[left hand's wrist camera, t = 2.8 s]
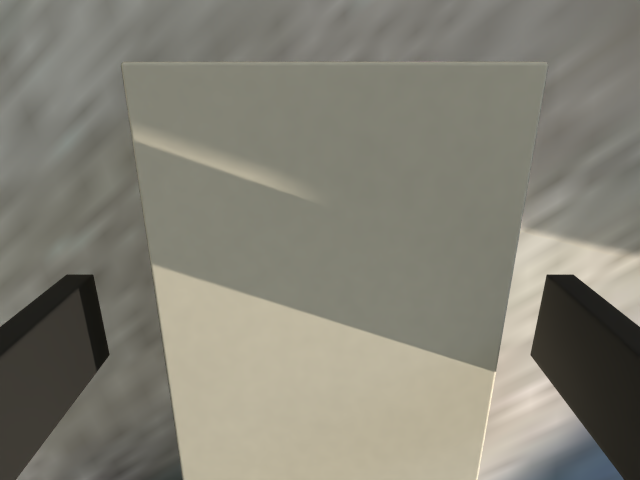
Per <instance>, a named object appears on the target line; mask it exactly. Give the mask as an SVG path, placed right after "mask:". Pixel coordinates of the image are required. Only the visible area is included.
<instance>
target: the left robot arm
mask: <svg viewBox="0 0 640 480" xmlns="http://www.w3.org/2000/svg"><path fill="white" fill-rule="evenodd" d="M108 356H109V350H108V345H107V340H106V335H105V330H104V325H103V320H102V316H101V311H100V306H99V301H98V296H97V291H96V286H95V281H94V276H93V275H66V276H64V277H63V278H62V279H61V280H59V281H58V282H57V283H56V284H54V285H53V286H52V287H50V288H49V289H48V290H47V291H45V292H44V293H43V294H42V295H40V296H39V297H38V298H37V299H35V300H34V301H33V302H31V303H30V304H29V305H28V306H26V307H25V308H24V309H23V310H21V311H20V312H19V313H18V314H16V315H15V316H14V317H12V318H11V319H10V320H9V321H7V322H6V323H5V324H4V325H2V326H1V327H0V480H16V479H17V477H18V476H19V475H20V473H21V472H22V471H23V469H24V468H25V467H26V465H27V464H28V463H29V461H30V460H31V459H32V457H33V456H34V455H35V453H36V452H37V451H38V449H39V448H40V447H41V445H42V444H43V443H44V441H45V440H46V439H47V437H48V436H49V435H50V433H51V432H52V431H53V429H54V428H55V427H56V425H57V424H58V423H59V421H60V420H61V419H62V417H63V416H64V415H65V413H66V412H67V411H68V409H69V408H70V407H71V405H72V404H73V403H74V401H75V400H76V399H77V397H78V396H79V395H80V393H81V392H82V391H83V389H84V388H85V387H86V385H87V384H88V383H89V382H90V380H91V379H92V378H93V376H94V375H95V374H96V372H97V371H98V370H99V368H100V367H101V366H102V364H103V363H104V362H105V360H106V359H107V358H108ZM531 356H532V358H533V359H534V360H535V362H536V363H537V364H538V366H539V367H540V368H541V370H542V371H543V372H544V374H545V375H546V376H547V378H548V379H549V380H550V382H551V383H552V384H553V385H554V387H555V388H556V389H557V391H558V392H559V393H560V395H561V396H562V397H563V399H564V400H565V401H566V403H567V404H568V405H569V407H570V408H571V409H572V411H573V412H574V413H575V415H576V416H577V417H578V419H579V420H580V421H581V423H582V424H583V425H584V427H585V428H586V429H587V431H588V432H589V433H590V435H591V436H592V437H593V439H594V440H595V441H596V443H597V444H598V445H599V447H600V448H601V449H602V451H603V452H604V453H605V455H606V456H607V457H608V459H609V460H610V461H611V463H612V464H613V465H614V467H615V468H616V469H617V471H618V472H619V473H620V475H621V476H622V477H623V479H624V480H640V327H639V326H638V325H636V324H635V323H634V322H633V321H631V320H630V319H629V318H628V317H626V316H625V315H624V314H622V313H621V312H620V311H619V310H617V309H616V308H615V307H614V306H612V305H611V304H610V303H609V302H607V301H606V300H605V299H603V298H602V297H601V296H600V295H598V294H597V293H596V292H595V291H593V290H592V289H591V288H590V287H588V286H587V285H586V284H584V283H583V282H582V281H581V280H579V279H578V278H577V277H576V276H574V275H547V276H546V281H545V286H544V291H543V296H542V301H541V306H540V311H539V316H538V320H537V325H536V330H535V335H534V340H533V345H532V350H531Z"/></svg>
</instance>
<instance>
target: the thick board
mask: <svg viewBox="0 0 640 480" xmlns="http://www.w3.org/2000/svg"><path fill="white" fill-rule="evenodd" d="M121 69H122V76H123V83H124V89H125V96H126V103H127V110H128V116H129V123H130V130H131V136H132V143H133V150H134V156H135V163H136V170H137V177H138V183H139V190H140V197H141V203H142V210H143V217H144V223H145V230H146V237H147V243H148V250H149V257H150V264H151V270H152V277H153V284H154V290H155V297H156V304H157V310H158V317H159V324H160V330H161V337H162V344H163V351H164V357H165V364H166V371H167V377H168V384H169V391H170V397H171V404H172V411H173V418H174V424H175V431H176V438H177V444H178V451H179V458H180V464H181V471H182V478H183V480H477V479H478V473H479V467H480V461H481V455H482V450H483V444H484V438H485V432H486V426H487V420H488V415H489V409H490V403H491V397H492V391H493V385H494V380H495V374H496V368H497V362H498V356H499V350H500V345H501V339H502V333H503V327H504V321H505V315H506V310H507V304H508V298H509V292H510V286H511V280H512V275H513V269H514V263H515V257H516V251H517V245H518V240H519V234H520V228H521V222H522V216H523V210H524V205H525V199H526V193H527V187H528V181H529V175H530V170H531V164H532V158H533V152H534V146H535V140H536V135H537V129H538V123H539V117H540V111H541V105H542V100H543V94H544V88H545V82H546V76H547V70H548V63H546V62H123V63H122V64H121Z"/></svg>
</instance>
